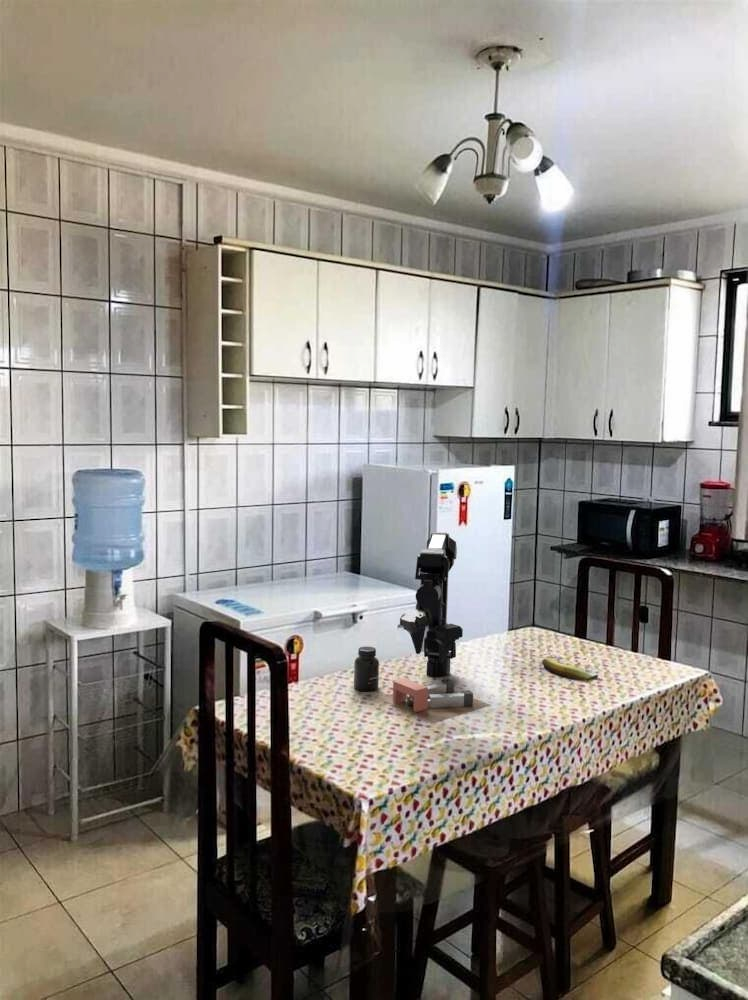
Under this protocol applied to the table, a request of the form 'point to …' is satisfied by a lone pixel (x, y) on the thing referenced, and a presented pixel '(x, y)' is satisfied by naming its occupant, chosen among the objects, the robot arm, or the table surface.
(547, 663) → the green-yellow banana
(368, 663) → the supplement bottle
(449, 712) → the board
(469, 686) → the table surface
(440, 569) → the robot arm
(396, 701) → the pink u-shaped block
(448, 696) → the tongs jaw
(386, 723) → the table surface
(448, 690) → the tongs fixed
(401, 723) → the table surface
